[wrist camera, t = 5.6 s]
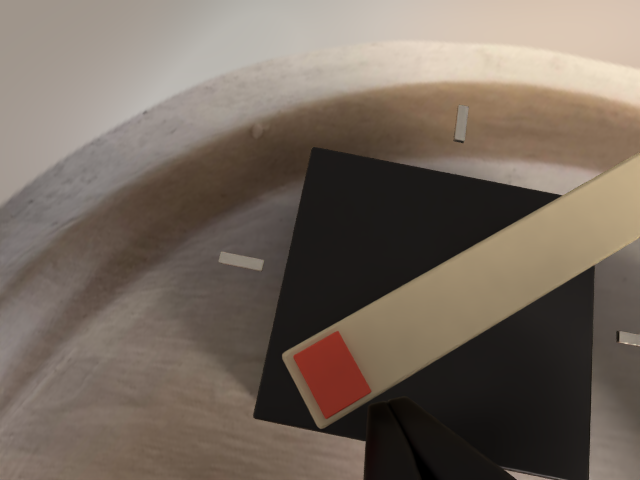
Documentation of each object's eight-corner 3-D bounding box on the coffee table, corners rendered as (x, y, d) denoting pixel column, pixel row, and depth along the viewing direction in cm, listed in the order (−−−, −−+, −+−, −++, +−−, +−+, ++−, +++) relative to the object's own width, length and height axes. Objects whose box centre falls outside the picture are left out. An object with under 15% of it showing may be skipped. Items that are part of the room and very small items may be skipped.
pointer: (549, 209, 15) (672, 132, 10) (577, 249, 15) (720, 191, 10) (287, 357, 14) (279, 354, 8) (313, 406, 13) (320, 433, 8)
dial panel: (595, 183, 19) (660, 143, 16) (585, 553, 16) (667, 609, 12) (274, 120, 20) (269, 67, 16) (187, 472, 16) (154, 503, 12)
